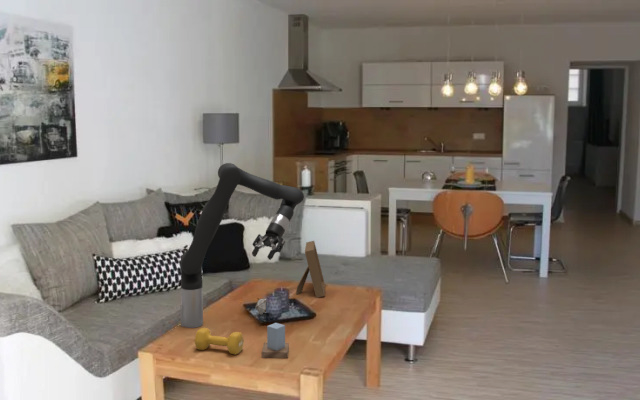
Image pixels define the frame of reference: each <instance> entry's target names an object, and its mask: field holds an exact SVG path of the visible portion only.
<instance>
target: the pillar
mask: <svg viewBox="0 0 640 400" xmlns="http://www.w3.org/2000/svg"><path fill="white" fill-rule="evenodd" d="M266 333H267V334H266V335H267V337H266V338H267V340H266V341H267V342H266V343H267V348H269V349H273V350H276V351H278V350H280V349H282V348H284V347H285V343H286V325H285V324H281V323H279V322H274V323H272V324H269V325H267V326H266Z"/></svg>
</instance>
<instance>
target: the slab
mask: <svg viewBox="0 0 640 400" xmlns="http://www.w3.org/2000/svg"><path fill="white" fill-rule="evenodd" d="M289 346H290V343H289V342H285V347H284V348H282V349H280V350H278V351H276V350H273V349H269V348H267V342H264V343H263V346H262V350H261V358H262V359H288V356H289V355H288V354H289V348H290V347H289Z"/></svg>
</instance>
